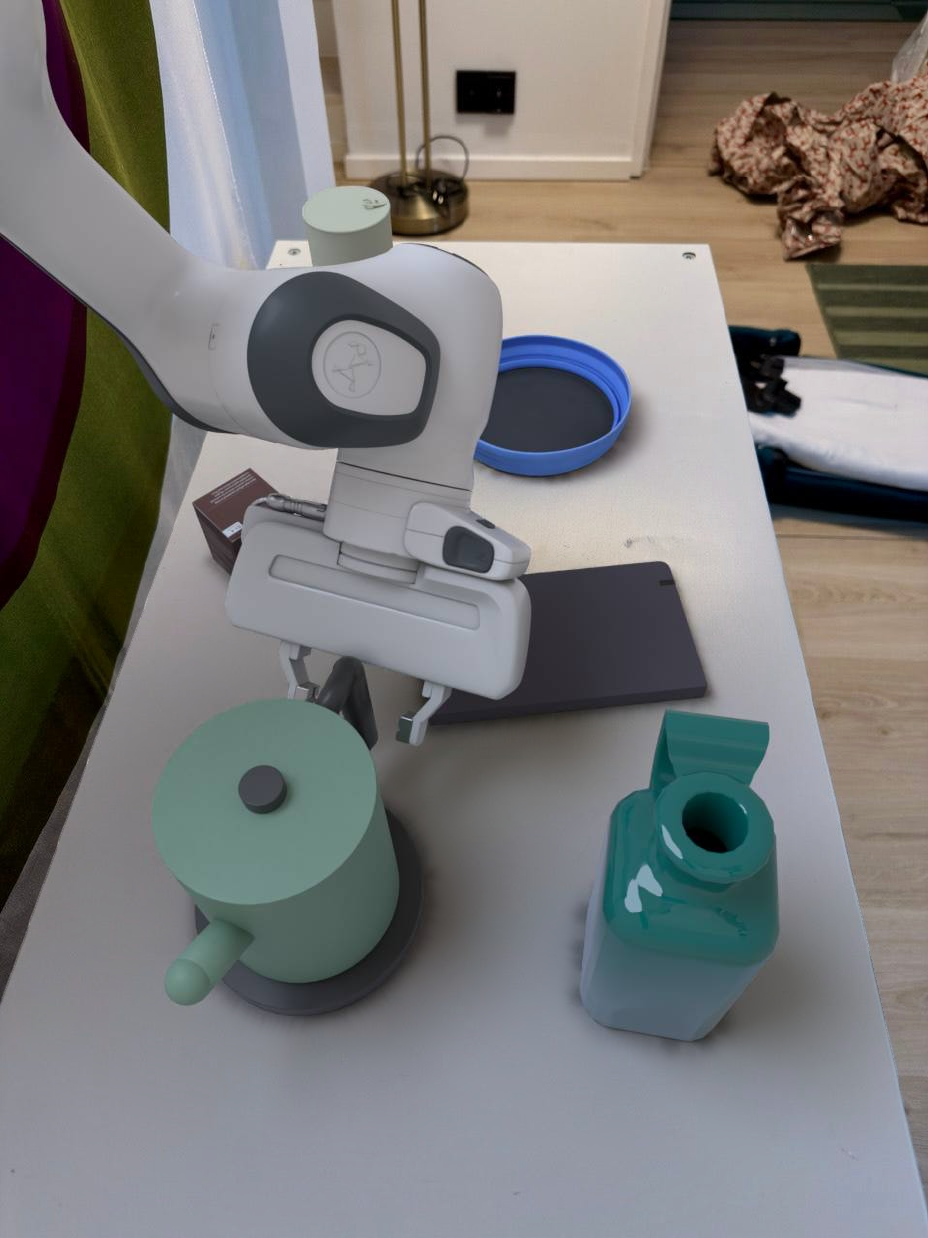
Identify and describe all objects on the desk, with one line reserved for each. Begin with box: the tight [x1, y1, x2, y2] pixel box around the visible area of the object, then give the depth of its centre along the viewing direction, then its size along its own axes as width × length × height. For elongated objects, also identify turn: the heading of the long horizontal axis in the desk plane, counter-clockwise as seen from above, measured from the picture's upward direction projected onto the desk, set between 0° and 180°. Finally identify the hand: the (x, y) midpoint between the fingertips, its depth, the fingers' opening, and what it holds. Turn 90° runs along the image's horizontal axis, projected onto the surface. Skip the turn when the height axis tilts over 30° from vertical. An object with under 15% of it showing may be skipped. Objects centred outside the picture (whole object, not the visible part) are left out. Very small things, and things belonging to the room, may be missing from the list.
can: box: [301, 185, 394, 267], centre depth 97 cm, size 9×9×12 cm
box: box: [191, 467, 295, 577], centre depth 76 cm, size 6×6×7 cm
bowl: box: [474, 334, 632, 477], centre depth 88 cm, size 18×18×4 cm
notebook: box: [426, 560, 708, 726], centre depth 72 cm, size 13×2×21 cm
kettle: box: [150, 656, 399, 1007], centre depth 53 cm, size 22×12×15 cm, turn 160°
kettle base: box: [194, 806, 425, 1017], centre depth 60 cm, size 15×15×2 cm
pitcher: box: [579, 708, 781, 1042], centre depth 49 cm, size 10×8×22 cm
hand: (353, 725), depth 60 cm, fingers open, 6 cm apart
